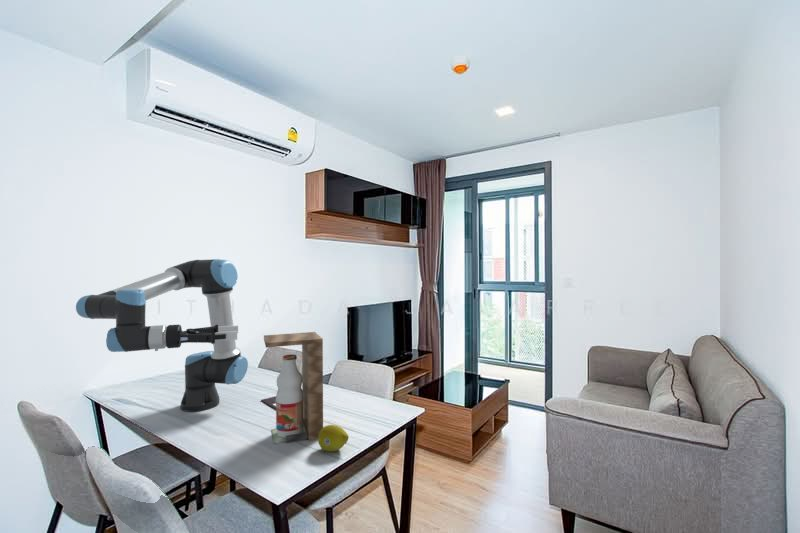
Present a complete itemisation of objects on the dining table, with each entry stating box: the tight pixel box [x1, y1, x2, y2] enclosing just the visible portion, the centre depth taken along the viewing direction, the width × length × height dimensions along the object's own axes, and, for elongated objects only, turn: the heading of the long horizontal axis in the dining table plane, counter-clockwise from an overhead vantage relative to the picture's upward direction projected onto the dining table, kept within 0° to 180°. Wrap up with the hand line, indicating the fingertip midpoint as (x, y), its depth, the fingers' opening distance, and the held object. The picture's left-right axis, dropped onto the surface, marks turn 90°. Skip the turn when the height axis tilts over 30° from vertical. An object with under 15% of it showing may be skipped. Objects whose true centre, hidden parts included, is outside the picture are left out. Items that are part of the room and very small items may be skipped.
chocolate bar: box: [260, 395, 276, 411], centre depth 166 cm, size 9×1×18 cm
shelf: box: [263, 331, 324, 444], centre depth 136 cm, size 19×16×35 cm
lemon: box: [317, 424, 349, 453], centre depth 123 cm, size 11×8×8 cm
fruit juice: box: [275, 354, 303, 438], centre depth 136 cm, size 9×9×28 cm
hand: (237, 332), depth 130 cm, fingers open, 13 cm apart
